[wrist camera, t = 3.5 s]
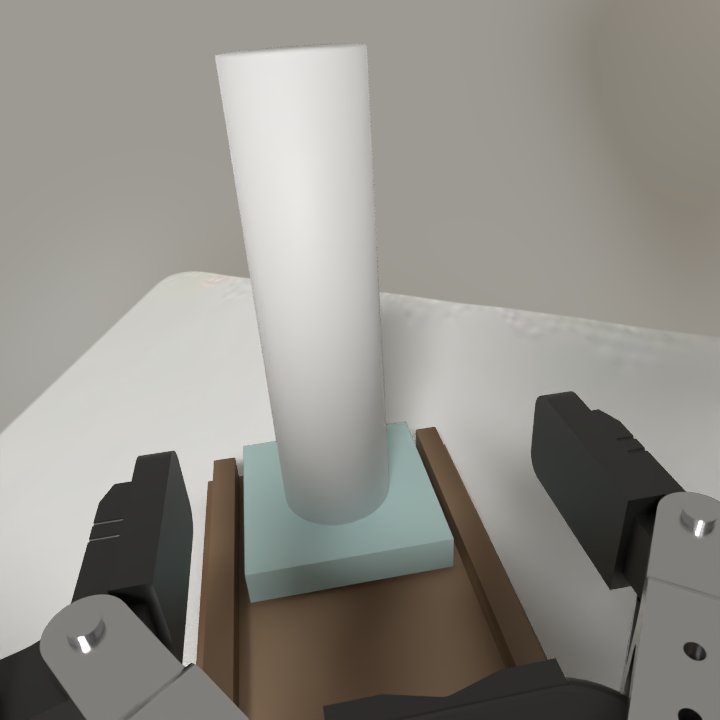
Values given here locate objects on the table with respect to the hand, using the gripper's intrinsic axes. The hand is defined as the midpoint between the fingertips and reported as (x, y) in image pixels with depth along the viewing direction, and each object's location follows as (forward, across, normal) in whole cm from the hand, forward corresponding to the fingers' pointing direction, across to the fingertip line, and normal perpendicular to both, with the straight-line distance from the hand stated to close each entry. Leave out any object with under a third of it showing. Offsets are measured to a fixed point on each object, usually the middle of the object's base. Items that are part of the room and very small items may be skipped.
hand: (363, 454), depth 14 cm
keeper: (+10, 0, +11) cm, 15 cm away
